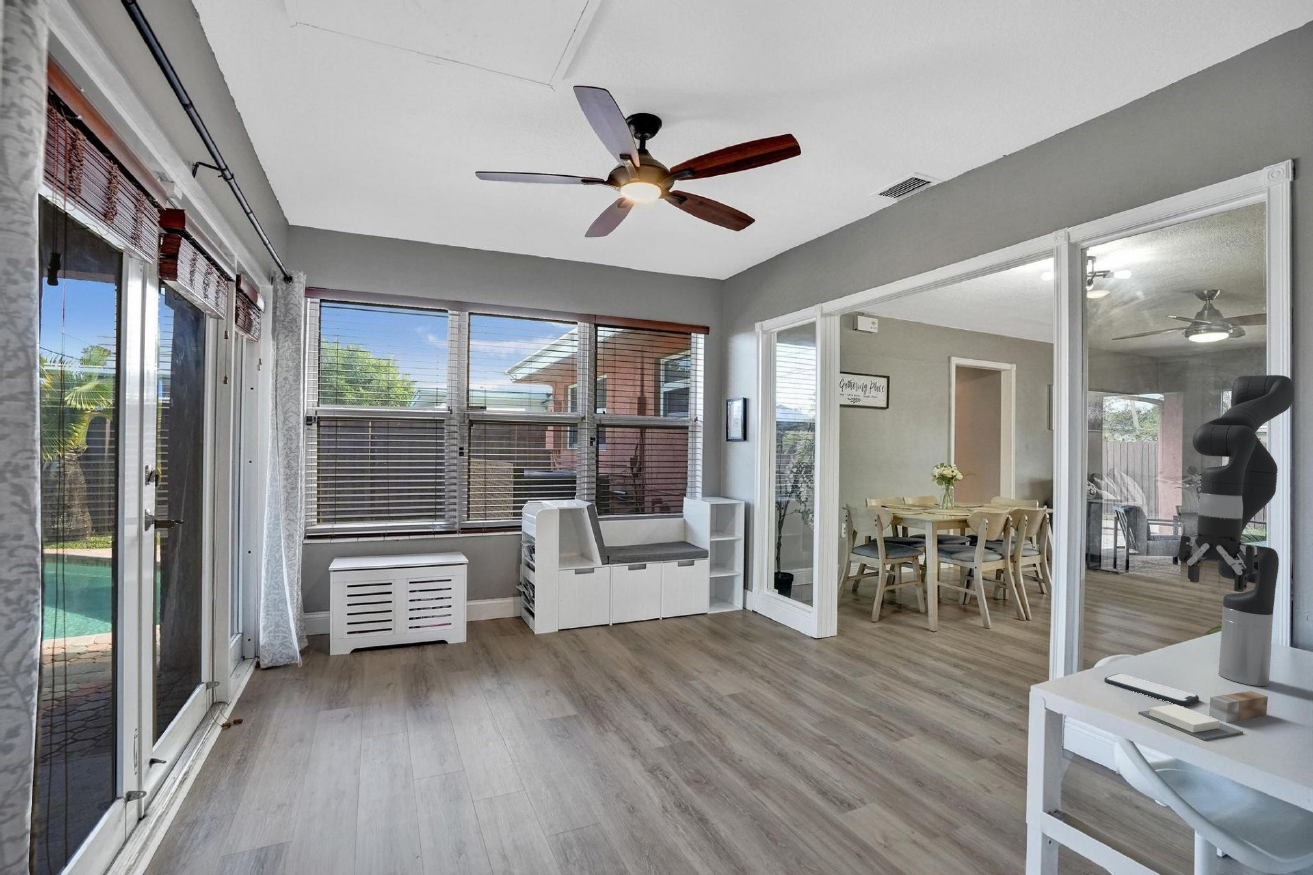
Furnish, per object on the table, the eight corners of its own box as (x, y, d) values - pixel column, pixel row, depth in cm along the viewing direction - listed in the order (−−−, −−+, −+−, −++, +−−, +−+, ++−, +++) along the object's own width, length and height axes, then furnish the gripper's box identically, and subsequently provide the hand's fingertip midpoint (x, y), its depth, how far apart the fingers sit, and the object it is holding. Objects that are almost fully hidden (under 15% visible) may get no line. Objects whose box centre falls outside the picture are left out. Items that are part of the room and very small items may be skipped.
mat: (1175, 708, 140) (1176, 706, 140) (1242, 733, 129) (1243, 731, 129) (1138, 713, 136) (1138, 711, 136) (1204, 740, 125) (1204, 738, 125)
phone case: (1101, 684, 154) (1184, 709, 140) (1102, 677, 154) (1185, 702, 141) (1119, 678, 159) (1200, 702, 145) (1119, 672, 159) (1201, 695, 145)
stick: (1249, 709, 142) (1250, 691, 142) (1266, 715, 139) (1267, 696, 139) (1209, 715, 137) (1210, 696, 137) (1225, 722, 134) (1227, 702, 134)
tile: (1175, 703, 137) (1149, 707, 134) (1219, 720, 129) (1193, 724, 126) (1174, 712, 137) (1149, 715, 134) (1218, 729, 129) (1193, 733, 126)
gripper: (1269, 518, 141) (1264, 593, 141) (1194, 509, 154) (1190, 578, 154) (1248, 519, 138) (1244, 596, 138) (1173, 510, 151) (1170, 580, 152)
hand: (1215, 586), depth 146 cm, fingers open, 8 cm apart
